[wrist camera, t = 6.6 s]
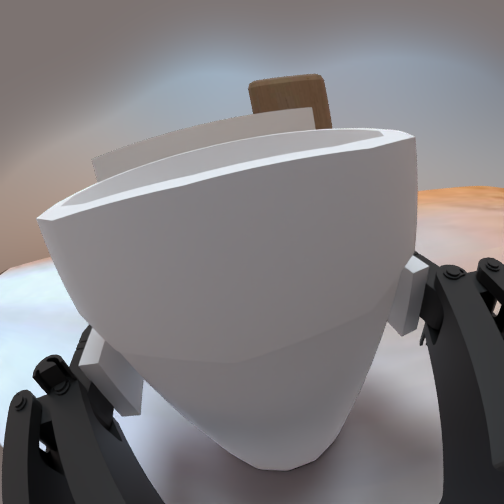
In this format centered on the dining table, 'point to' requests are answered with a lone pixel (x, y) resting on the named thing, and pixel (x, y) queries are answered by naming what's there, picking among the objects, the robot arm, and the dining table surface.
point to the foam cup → (248, 278)
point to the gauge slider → (201, 139)
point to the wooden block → (292, 96)
